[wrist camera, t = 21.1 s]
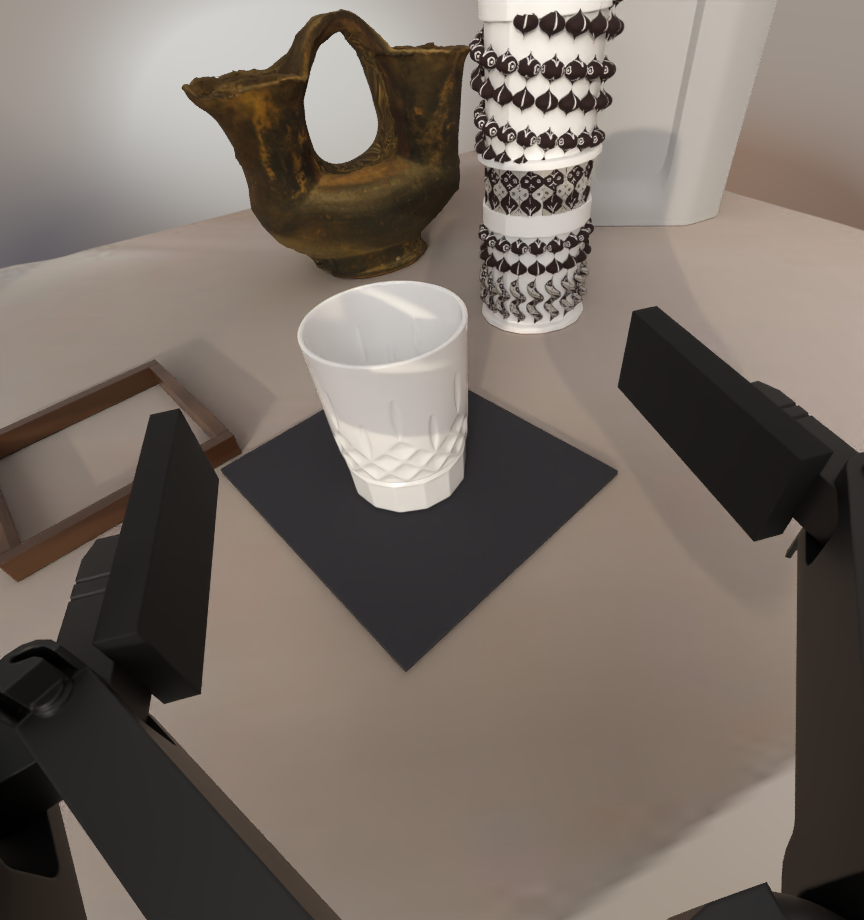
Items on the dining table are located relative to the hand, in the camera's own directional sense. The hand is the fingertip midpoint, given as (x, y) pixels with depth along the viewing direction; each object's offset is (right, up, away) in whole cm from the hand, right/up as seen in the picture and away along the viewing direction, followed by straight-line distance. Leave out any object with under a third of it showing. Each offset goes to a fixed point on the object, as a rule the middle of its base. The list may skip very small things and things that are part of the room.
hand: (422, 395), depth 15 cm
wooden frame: (-22, -2, +19) cm, 29 cm away
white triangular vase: (+20, +27, +43) cm, 55 cm away
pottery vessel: (-6, +19, +39) cm, 44 cm away
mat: (-1, -3, +16) cm, 16 cm away
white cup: (-1, -3, +16) cm, 16 cm away
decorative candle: (+9, +11, +29) cm, 32 cm away
